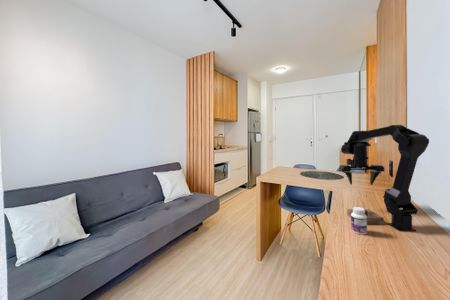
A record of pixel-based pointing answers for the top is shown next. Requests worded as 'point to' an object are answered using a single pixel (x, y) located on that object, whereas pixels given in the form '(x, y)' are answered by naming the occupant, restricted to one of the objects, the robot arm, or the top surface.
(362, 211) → the pill bottle
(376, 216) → the socket
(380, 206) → the top surface
